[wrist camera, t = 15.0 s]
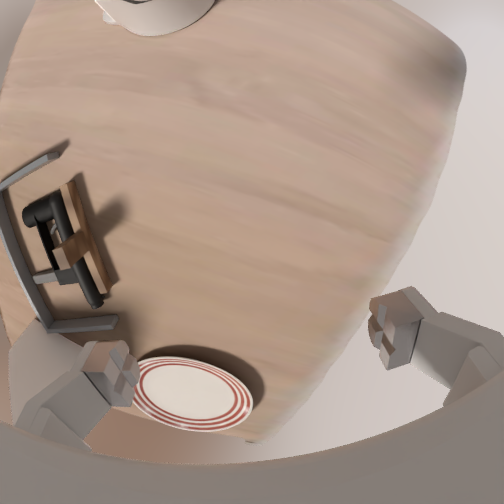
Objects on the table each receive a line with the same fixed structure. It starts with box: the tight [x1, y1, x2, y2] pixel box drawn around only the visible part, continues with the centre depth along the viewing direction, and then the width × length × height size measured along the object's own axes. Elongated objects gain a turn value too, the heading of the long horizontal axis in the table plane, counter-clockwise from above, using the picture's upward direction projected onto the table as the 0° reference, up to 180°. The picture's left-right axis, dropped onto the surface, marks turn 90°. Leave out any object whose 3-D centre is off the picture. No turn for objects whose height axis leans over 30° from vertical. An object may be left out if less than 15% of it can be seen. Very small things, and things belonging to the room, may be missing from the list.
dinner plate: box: [132, 356, 253, 432], centre depth 50 cm, size 28×27×3 cm
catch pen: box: [0, 152, 119, 334], centre depth 36 cm, size 30×18×3 cm, turn 11°
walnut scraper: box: [52, 181, 113, 294], centre depth 33 cm, size 18×2×8 cm, turn 11°
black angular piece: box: [22, 191, 105, 309], centre depth 37 cm, size 3×20×16 cm
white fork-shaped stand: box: [9, 319, 83, 426], centre depth 37 cm, size 19×15×25 cm
